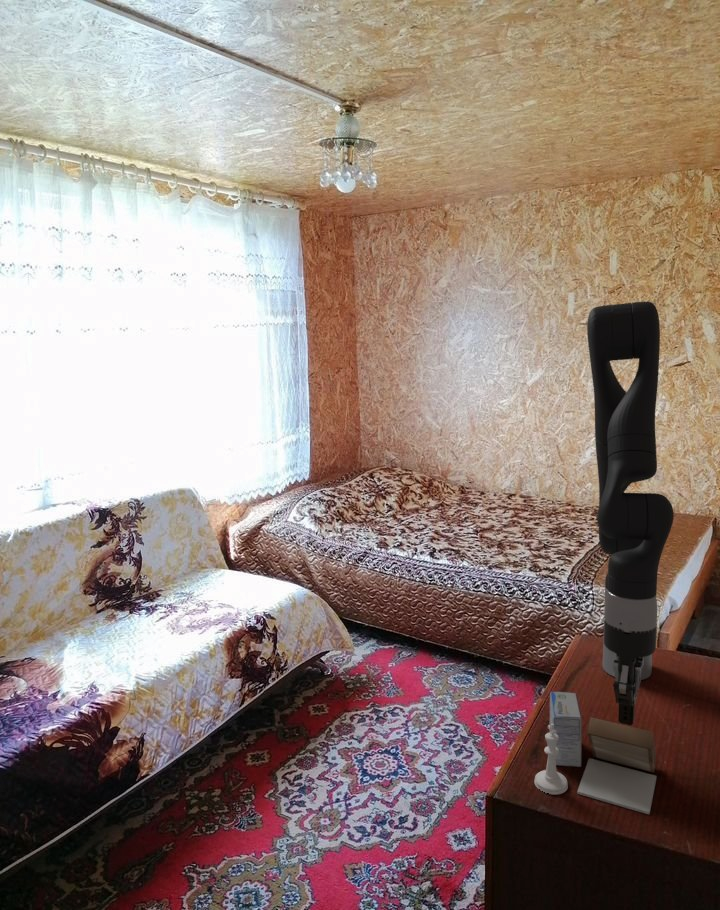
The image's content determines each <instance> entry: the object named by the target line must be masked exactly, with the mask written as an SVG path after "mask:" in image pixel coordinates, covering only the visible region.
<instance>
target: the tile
mask: <svg viewBox="0 0 720 910" xmlns="http://www.w3.org/2000/svg"><path fill="white" fill-rule="evenodd" d="M587 736H588V740H589V744H590V748H591V752H592V755H593V756H592V757H593V758H596V759H600V760H603V761H607V762H610V763H613V764H614V763H615V764H618V765H619V764H620V765H622V766H625V767H630V768H633V769H638V770H640V771H645V772H650V773H655V765H656V747H655V735H654V732H653V731H651V730H647V729H643V728H638V727H634V726H631V725H627V724H623V723H619V722H613V721H608V720H605V719H600V718H597V717H592V716H590V717H589V723H588V727H587Z"/></svg>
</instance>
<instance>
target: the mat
mask: <svg viewBox="0 0 720 910" xmlns="http://www.w3.org/2000/svg"><path fill="white" fill-rule="evenodd" d="M582 774H583V775H582V777H581V780H580V781H579V786H578V788H577V791H576V794H577V795H580V796H584V797H587V798H589V799H594V800H597V801H601V802H604V803H608V804H611V805H615V806H618V807H622V808H624V809H629V810H631V811H636V812H638V813H642V814H645V815H650V813H651V808H652V803H653V799H654V798H653V797H654V793H655V787H656V783H657V775H655V774H650V773H647V772H643V771H641V770H640V771H639V770H636V769H632V768H628V767H626V766H620V765H617V764H614V763H613V764H612V763H611V762H610V763H609V762H606V761H601V760H598V759H594V758H591V757H589V758H588V759H587V763H586V766H585V769H584V771H583V773H582Z"/></svg>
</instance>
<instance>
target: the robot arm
mask: <svg viewBox="0 0 720 910" xmlns="http://www.w3.org/2000/svg"><path fill="white" fill-rule="evenodd" d="M659 317H660V316H659V313H658V309H657V307H656V305H655V304H654V303H653V302H651V301H635V302H633V301H632V302H627V303H626V302H625V303H615V304H607V305H599V306H595V307H593V308H592V309H590V311H589V313H588V317H587V325H586V328H587V330H586V331H587V332H586V333H587V344H588V345H587V346H588V353H589V360H590V361H589V362H590V368H591V369H590V370H591V376H592V386H593V399H594V400H593V401H594V440H595V454H596V463H597V464H596V465H597V474H598V477H597V478H598V486H599V487H598V493H599V494H598V495H599V496H598V497H599V498H598V504H599V505H598V510H597V515H596V521H597V527H598V542H599V546H600V549H601V550H602V552H603V553H605V554H607V555H610V556H609V559H608V564H607V573H606V575H605V579H604V580H605V581H604V583H605V584H604V608H603V609H604V616H603V617H604V618H603V638H602V639H603V643H602V644H603V646H602V669H603V671H605V673H606V674H608V675H610V676H612V677H614V682H613V685H612V686H613V691H614V697H615V698H614V700H615V703H616V704H618V720H617V721H618V723H619V724H622V725H626V726H632V725H634V721H635V716H636V715H635V713H636V710H635V709H636V702H637V698H638V692H639V688H640V686H641V682H642V681H643V680H646V679H648V678H650V676H651V675H652V665H653V654H654V653H655V651H656V648H657V628H658V627H657V623H658V599H657V592H658V591H657V590H658V589H657V587H658V573H659V572H658V570H659V565H660V560H661V557H662V554H663V550H664V548H665V545H666V542H667V540H668V537H669V535H670V533H671V530H672V526H673V522H674V518H675V516H674V515H675V514H674V513H675V512H674V508H673V505H672V503H671V501H670V500H669V499H668V498H667V497H666V496H665V495H663V494H661V493H655V492H649V493H648V492H645V493H644V492H625V491H626V490H627V489H628V488H629V486H630V485H631V484H634V483H639V482H643V481H646V480H650V479H652V478H653V477H654V476H655V475H656V474H657V470H658V459H657V458H658V456H657V439H656V410H657V409H656V407H657V398H658V397H657V396H658V385H659V383H658V382H659V368H660V367H659V366H660V351H661V348H660V344H661V325H660V318H659ZM633 359H634V360H636V359H637V360H638V359H639V360H638V366H637V371H636V373H635V375H634V378H633V381H632V382H631V384H630V386H629V387H628V390H627V391H626V390H625V388H624V387H623V386H622V385H621V384H620V383H621V382H619V380H618V378H617V376H616V374H615V372H614V370H613V368H612V364H611V362H613V361H623V360H633Z"/></svg>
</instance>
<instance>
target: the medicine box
mask: <svg viewBox="0 0 720 910" xmlns="http://www.w3.org/2000/svg"><path fill="white" fill-rule="evenodd" d="M581 715H582V714H581V710H580V705H579V701H578V695H577V693H575V692H566V691H565V692H564V691H550V693H549V725H550V724H552V723H553V724H554V729H555V730H556V731H557V733H556V734H557V735H558V736H559V740H558V742H557V745H556V748H557V749H558V750H559V754H558V755H555V761H556V766H562V767H577V768H580V767H582V726H583V725H582V723H583V720H582V716H581ZM548 730H549V729H548ZM548 732H550V730H549V731H548Z"/></svg>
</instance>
